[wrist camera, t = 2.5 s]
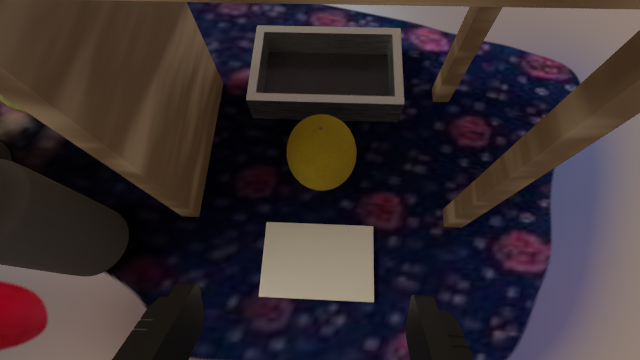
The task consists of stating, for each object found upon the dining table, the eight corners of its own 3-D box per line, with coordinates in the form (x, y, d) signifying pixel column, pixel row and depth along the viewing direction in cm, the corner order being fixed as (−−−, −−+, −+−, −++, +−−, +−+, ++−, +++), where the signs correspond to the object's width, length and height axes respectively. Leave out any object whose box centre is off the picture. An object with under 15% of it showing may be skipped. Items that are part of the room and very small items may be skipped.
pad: (259, 296, 27) (258, 296, 27) (267, 223, 29) (266, 221, 29) (373, 302, 27) (374, 302, 26) (372, 227, 29) (373, 226, 28)
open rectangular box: (252, 118, 33) (245, 100, 30) (262, 47, 36) (257, 25, 33) (397, 122, 33) (404, 104, 30) (394, 50, 36) (400, 28, 33)
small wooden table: (182, 216, 30) (-267, -86, 7) (208, 83, 35) (-7, -334, 12) (462, 227, 29) (934, -77, 6) (446, 89, 34) (678, -348, 11)
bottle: (126, 272, 28) (-75, 230, 14) (54, 281, 28) (-221, 247, 14) (133, 205, 30) (-36, 110, 16) (66, 212, 30) (-163, 123, 16)
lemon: (364, 166, 31) (376, 119, 24) (329, 214, 29) (330, 180, 22) (315, 135, 32) (311, 82, 25) (279, 180, 31) (264, 137, 23)
